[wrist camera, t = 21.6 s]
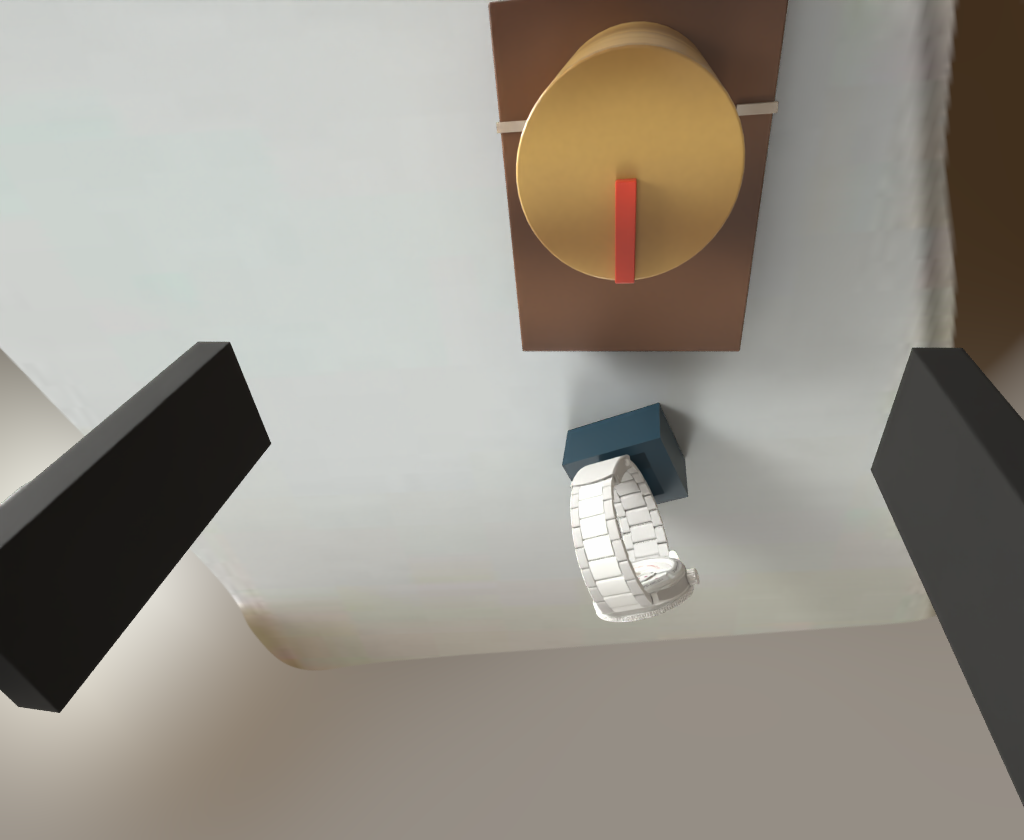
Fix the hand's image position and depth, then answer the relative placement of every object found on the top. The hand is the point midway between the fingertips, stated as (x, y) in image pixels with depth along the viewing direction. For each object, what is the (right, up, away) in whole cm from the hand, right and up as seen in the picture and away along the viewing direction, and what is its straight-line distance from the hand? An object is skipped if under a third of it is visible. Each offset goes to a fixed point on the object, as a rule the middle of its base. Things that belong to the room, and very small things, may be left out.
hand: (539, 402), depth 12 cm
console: (+5, +10, +14) cm, 18 cm away
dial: (+4, +11, +10) cm, 15 cm away
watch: (+6, -2, +23) cm, 24 cm away
